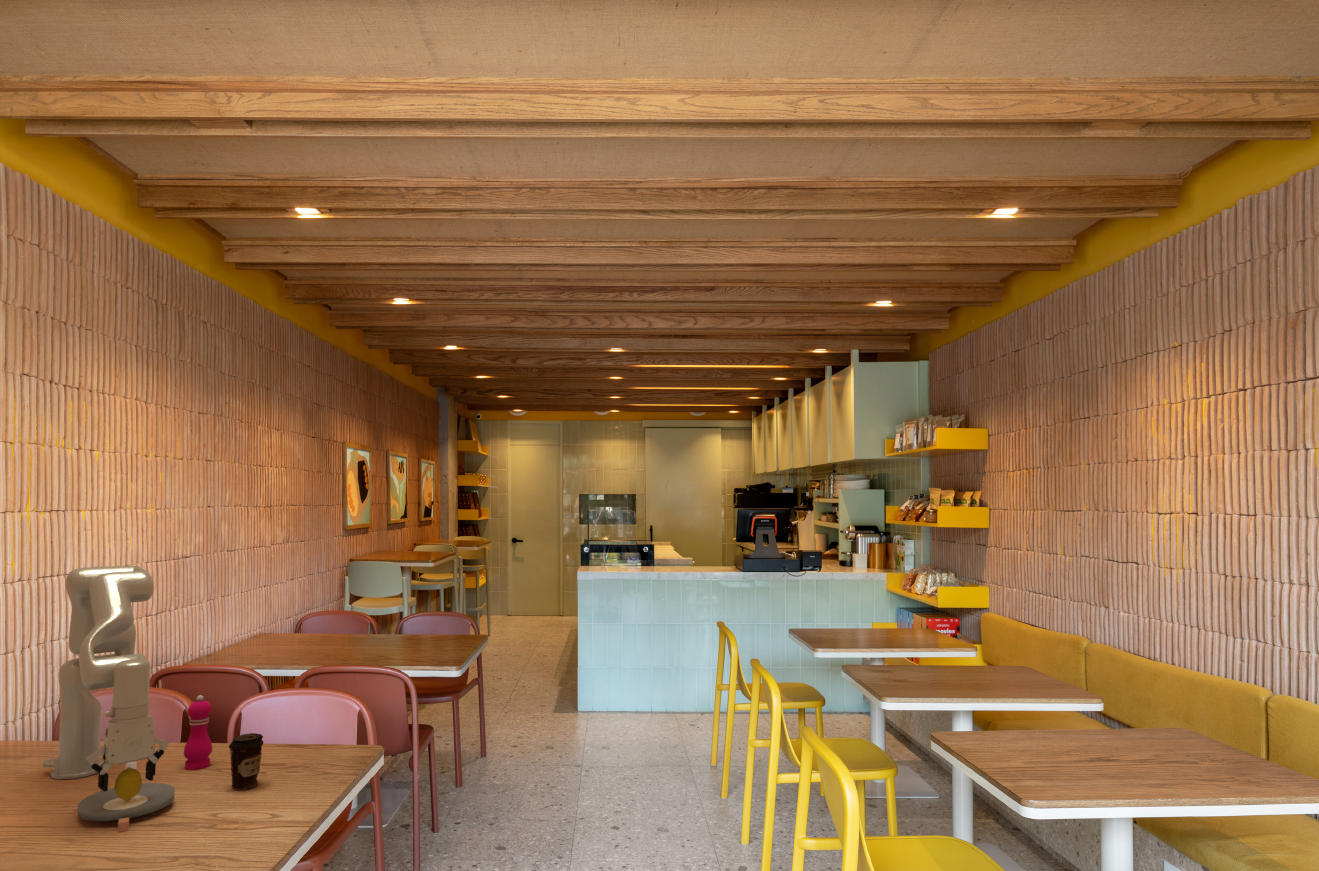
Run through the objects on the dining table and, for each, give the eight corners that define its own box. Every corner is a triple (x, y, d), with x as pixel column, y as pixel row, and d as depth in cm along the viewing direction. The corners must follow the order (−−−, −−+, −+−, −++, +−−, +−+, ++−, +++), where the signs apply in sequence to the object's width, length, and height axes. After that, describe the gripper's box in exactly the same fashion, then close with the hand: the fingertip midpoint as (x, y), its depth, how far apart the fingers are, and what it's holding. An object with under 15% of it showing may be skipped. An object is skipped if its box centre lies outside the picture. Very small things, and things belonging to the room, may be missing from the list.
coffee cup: (270, 783, 224) (272, 733, 225) (245, 793, 216) (247, 742, 217) (245, 779, 227) (246, 730, 228) (220, 789, 219) (221, 739, 220)
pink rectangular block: (118, 827, 194) (119, 818, 194) (128, 826, 195) (129, 817, 195) (117, 832, 191) (118, 823, 191) (128, 830, 192) (128, 821, 192)
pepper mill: (217, 762, 241) (219, 692, 243) (201, 770, 234) (203, 698, 235) (193, 762, 242) (196, 692, 243) (177, 770, 235) (180, 697, 236)
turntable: (91, 828, 190) (92, 792, 190) (67, 806, 203) (69, 772, 204) (186, 803, 205) (187, 770, 205) (158, 785, 218) (159, 754, 219)
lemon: (122, 797, 203) (123, 764, 203) (145, 796, 203) (146, 763, 204) (108, 806, 197) (110, 771, 198) (133, 805, 197) (134, 770, 198)
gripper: (93, 722, 192) (89, 798, 191) (175, 707, 205) (172, 778, 204) (83, 716, 197) (79, 790, 196) (163, 702, 210) (160, 772, 209)
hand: (126, 784), depth 200 cm, fingers open, 9 cm apart
